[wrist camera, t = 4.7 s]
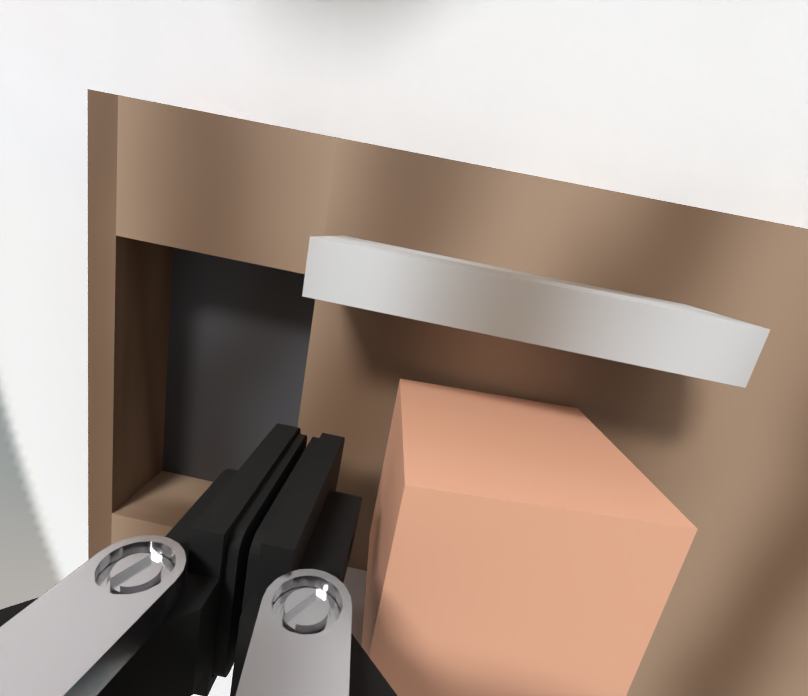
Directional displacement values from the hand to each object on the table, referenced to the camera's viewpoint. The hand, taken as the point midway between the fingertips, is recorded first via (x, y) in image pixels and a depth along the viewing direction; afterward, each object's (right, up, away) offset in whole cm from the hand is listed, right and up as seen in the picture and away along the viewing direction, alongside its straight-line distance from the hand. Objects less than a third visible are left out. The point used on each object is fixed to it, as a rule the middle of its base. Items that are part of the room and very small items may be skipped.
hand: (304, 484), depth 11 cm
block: (+4, 0, +2) cm, 5 cm away
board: (+5, +1, +5) cm, 7 cm away
